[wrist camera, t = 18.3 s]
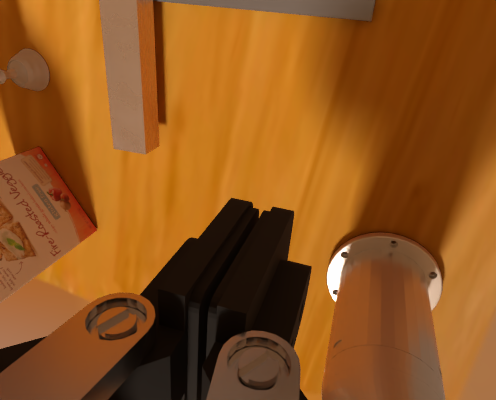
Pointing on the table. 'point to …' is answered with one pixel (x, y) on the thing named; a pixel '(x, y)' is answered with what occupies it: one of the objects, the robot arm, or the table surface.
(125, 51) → the swing bar
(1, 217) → the cracker box
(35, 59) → the chalice
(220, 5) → the label board
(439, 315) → the table surface
